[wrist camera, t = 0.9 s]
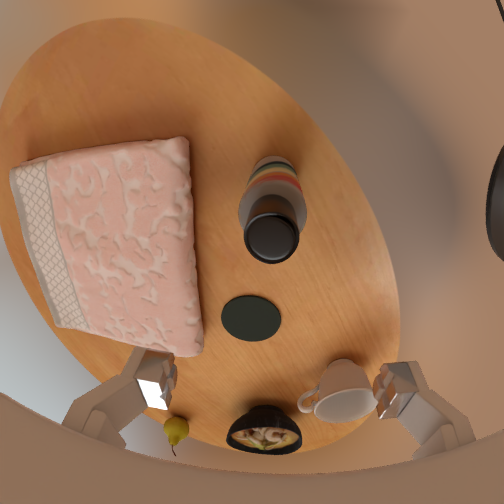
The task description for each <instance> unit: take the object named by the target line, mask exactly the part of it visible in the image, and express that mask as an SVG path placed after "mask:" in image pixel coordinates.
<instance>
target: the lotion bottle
mask: <svg viewBox="0 0 504 504" xmlns="http://www.w3.org/2000/svg"><path fill="white" fill-rule="evenodd" d="M238 215H239V221H240V224H241V227H242V229H243V230H244V242H245V245H246V247H247V249H248V251H249V252H250V253H251V255H252V256H253V257H255V258H256V259H257V260H259V261H261V262H263V263H267V264H276V263H280V262H283V261H285V260H286V259H288V258H289V257H290V256H291V255H292V254H293V253H294V252H295V250H296V248H297V246H298V243H299V236H300V235H299V234H300V232H301V231H302V229H303V228H304V225H305V223H306V218H307V208H306V203H305V200H304V196H303V193H302V190H301V187H300V184H299V181H298V178H297V174H296V172H295V169H294V167H293V166H292V164H291V163H290V162H289V161H288V160H286V159H285V158H283V157H280V156H268V157H265V158H263V159H261V160H260V161H259V162H258V163H257V164H256V166H255V167H254V169H253V171H252V174H251V176H250V178H249V181H248V183H247V186H246V188H245V191H244V193H243V196H242V198H241V201H240V204H239V210H238Z"/></svg>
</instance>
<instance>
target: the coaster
mask: <svg viewBox="0 0 504 504" xmlns="http://www.w3.org/2000/svg"><path fill="white" fill-rule="evenodd" d="M221 320H222V324H223V326H224V328H225V329H226V330H227V331H228V332H229V333H230V334H231V335H232V336H234V337H236V338H238V339H241V340H244V341H262V340H265V339H268V338H269V337H271V336H273V335H274V334H275V333H276V332H277V331H278V329H279V327H280V323H281V316H280V313H279V311H278V309H277V308H276V306H275V305H274V304H273V303H271V302H270V301H268V300H267V299H264V298H262V297H258V296H252V295H247V296H240V297H237V298H234V299H232V300H231V301H229V302H228V303H227V304H226V305H225V307H224V308H223V311H222V315H221Z"/></svg>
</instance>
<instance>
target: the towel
mask: <svg viewBox="0 0 504 504" xmlns="http://www.w3.org/2000/svg"><path fill="white" fill-rule="evenodd" d="M189 171H190V161H189V141H188V140H187V139H185V137H179V136H177V137H176V138H171V139H168V140H159V139H156V140H153V141H151V142H149V141H145V140H144V141H135V142H125V143H118V144H116V145H115V144H112V145H104V146H97V147H91V148H83V149H76V150H70V151H66V152H60V153H55V154H52V155H47V156H43V157H39V158H35V159H33V160H30V161H23V162H21V164H20V167H14V168H12V169H11V170H10V175H9V178H10V186H11V190H12V193H13V196H14V199H15V203H16V207H17V211H18V215H19V220H20V224H21V228H22V233H23V238H24V242H25V245H26V248H27V250H28V253H29V257H30V259H31V261H32V264H33V266H34V269H35V272H36V275H37V278H38V280H39V283H40V286H41V289H42V292H43V294H44V297H45V299H46V302H47V304H48V306H49V309H50V311H51V314H52V317H53V319H54V322H55V325H56V326H57V327H62V328H70V329H71V328H72V329H76V330H80V331H83V332H87V333H92V334H96V335H100V336H104V337H107V338H110V339H114V340H117V341H121V342H124V343H128V344H132V345H135V346H140V347H145V348H151V349H156V350H161V351H166V352H171V353H174V356H179V357H193V356H197V355H199V354H200V353H202V351H203V347H204V338H203V335H204V332H203V326H202V321H201V311H200V303H199V294H198V288H197V271H196V269H195V265H196V259H195V250H194V249H193V243H194V229H193V206H194V205H193V197H192V194H191V191H190V189H191V187H192V186H191V177H190V175H189Z"/></svg>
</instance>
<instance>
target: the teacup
mask: <svg viewBox="0 0 504 504" xmlns="http://www.w3.org/2000/svg"><path fill="white" fill-rule="evenodd" d="M318 390H319V397H318V401H314V400H313V401H312V403H311V406H309V407H304V406H303V405H302V402H303V400H304V399H305V398H307V397H309V396H311V395H313V394H315V393H316V392H317V391H318ZM377 404H378V401H377V400H376V399H375V398H374V396H373V389H372V387H371V385H370V383H369V380H368V378H367V375H366V373H365V372H364V370H363V369H362V368H361V367H360V366H359V365H357V364H354V362H353V361H351V360H349V359H339V360H336V361H333V362H332V363H330V364H329V365H328V367H327V370H326V371H325V372H324V373H323V375H322V377H321V379H320V382H319V384H318V385H317V386H316V387H315V388H314V389H312V390H309V391H307V392H305V393H303V394H302V395H301V396H300V397H299V399H298V408H299V410H300V411H301V412H303V413H309V412H311V411H312V410H313V408H314V406H315V408H314V414H315V416H316V417H317V418H319V419H320V420H322V421H325V422H329V423H345V422H350V421H354V420H357V419H359V418H362V417H364V416H366V415H367V414H369V413H370V412H372V411H373V410H374V409H375V407H376V406H377Z"/></svg>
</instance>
